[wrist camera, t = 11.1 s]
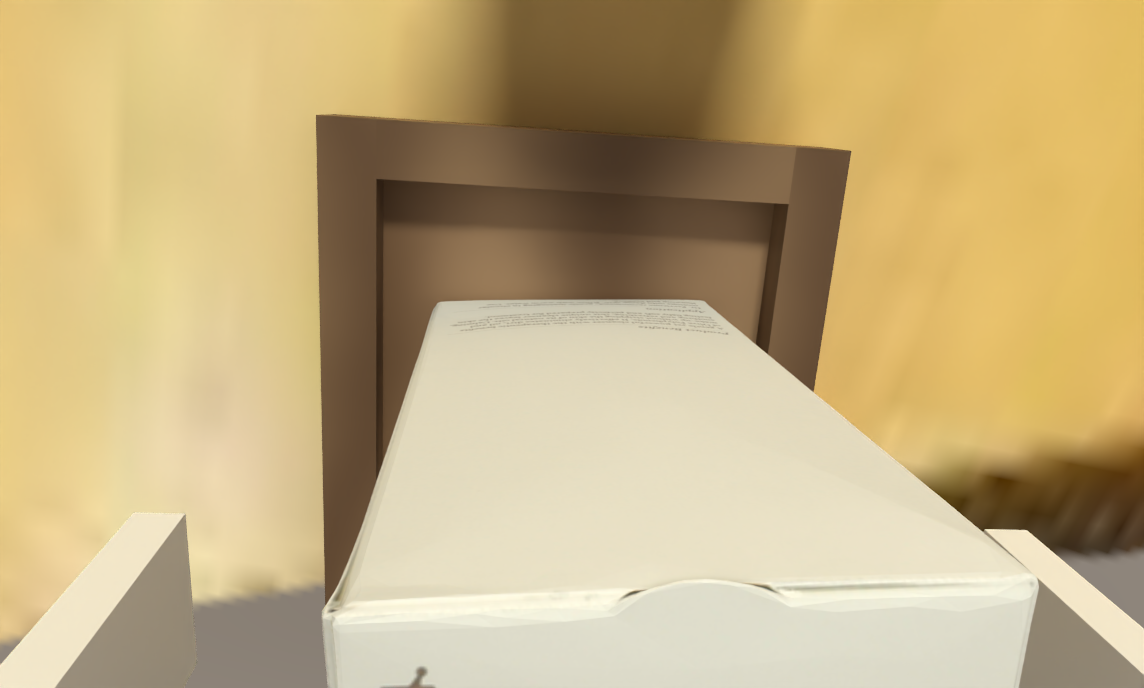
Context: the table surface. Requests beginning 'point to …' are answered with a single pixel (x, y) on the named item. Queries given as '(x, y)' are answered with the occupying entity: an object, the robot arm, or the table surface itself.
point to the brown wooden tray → (545, 253)
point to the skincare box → (653, 523)
